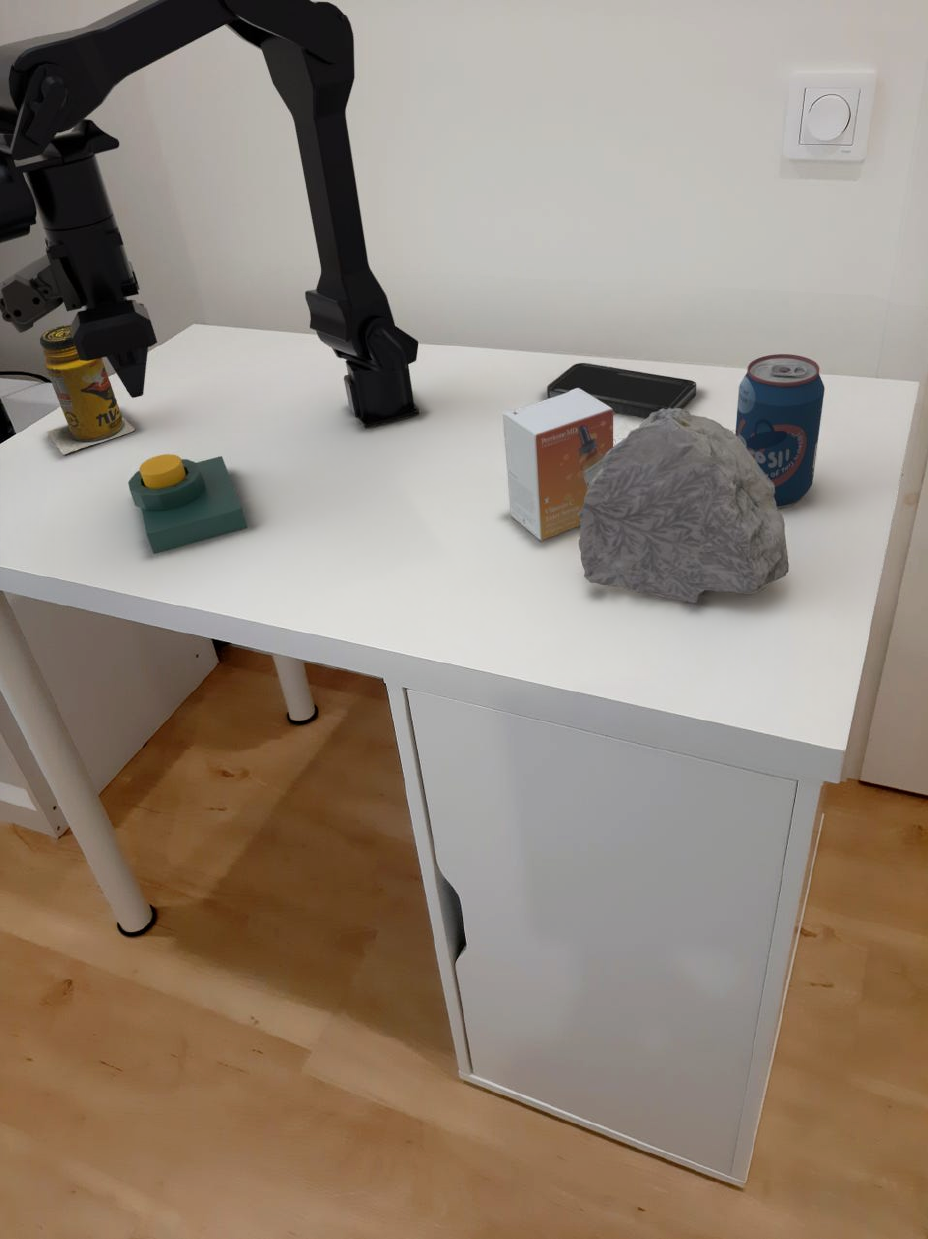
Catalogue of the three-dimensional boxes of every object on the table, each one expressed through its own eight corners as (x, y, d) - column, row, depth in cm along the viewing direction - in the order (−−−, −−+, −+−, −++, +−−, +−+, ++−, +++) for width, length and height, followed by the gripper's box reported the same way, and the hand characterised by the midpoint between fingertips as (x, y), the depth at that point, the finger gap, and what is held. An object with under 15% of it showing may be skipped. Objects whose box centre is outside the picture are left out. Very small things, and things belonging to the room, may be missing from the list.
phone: (669, 412, 100) (543, 389, 107) (668, 422, 101) (543, 398, 108) (700, 381, 105) (577, 361, 112) (699, 391, 106) (578, 370, 113)
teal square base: (227, 474, 102) (217, 440, 100) (247, 528, 93) (237, 492, 91) (136, 498, 100) (124, 463, 98) (148, 555, 91) (135, 519, 89)
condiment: (135, 431, 113) (101, 331, 106) (63, 456, 110) (23, 355, 102) (116, 411, 118) (83, 314, 111) (47, 434, 115) (7, 336, 107)
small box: (540, 543, 86) (533, 435, 79) (509, 516, 90) (499, 411, 83) (616, 514, 88) (615, 407, 82) (582, 489, 92) (578, 385, 86)
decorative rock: (571, 590, 80) (563, 424, 71) (594, 546, 84) (590, 385, 75) (777, 622, 74) (798, 445, 65) (790, 572, 79) (811, 401, 69)
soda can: (725, 508, 87) (734, 383, 80) (736, 470, 92) (745, 349, 85) (807, 516, 85) (824, 388, 77) (813, 476, 90) (830, 352, 82)
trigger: (183, 465, 97) (178, 450, 96) (188, 483, 94) (183, 467, 93) (143, 476, 96) (137, 460, 95) (147, 494, 93) (141, 478, 92)
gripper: (-20, 213, 85) (45, 380, 95) (-28, 271, 71) (50, 460, 81) (108, 188, 88) (159, 353, 97) (125, 240, 74) (183, 427, 83)
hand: (137, 395), depth 89 cm, fingers closed
